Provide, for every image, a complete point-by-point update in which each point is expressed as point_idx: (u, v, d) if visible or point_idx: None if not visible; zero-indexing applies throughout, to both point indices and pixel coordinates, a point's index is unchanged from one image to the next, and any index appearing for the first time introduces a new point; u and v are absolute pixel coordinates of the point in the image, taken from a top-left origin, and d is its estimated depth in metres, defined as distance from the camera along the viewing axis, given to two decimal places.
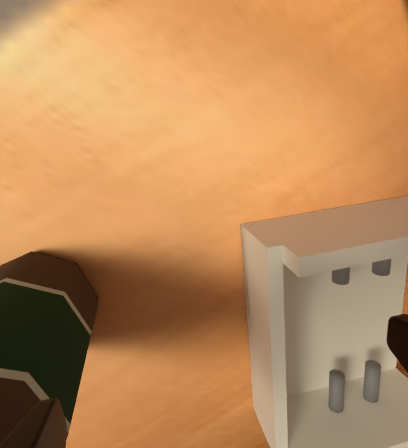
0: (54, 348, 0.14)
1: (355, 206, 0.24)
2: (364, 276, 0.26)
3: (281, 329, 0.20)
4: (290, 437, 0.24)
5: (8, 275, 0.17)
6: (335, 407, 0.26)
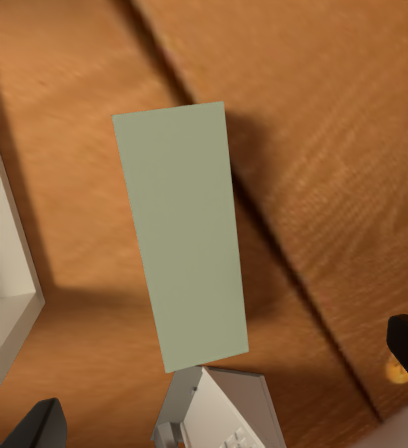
0: None
1: None
2: None
3: None
4: None
5: None
6: None
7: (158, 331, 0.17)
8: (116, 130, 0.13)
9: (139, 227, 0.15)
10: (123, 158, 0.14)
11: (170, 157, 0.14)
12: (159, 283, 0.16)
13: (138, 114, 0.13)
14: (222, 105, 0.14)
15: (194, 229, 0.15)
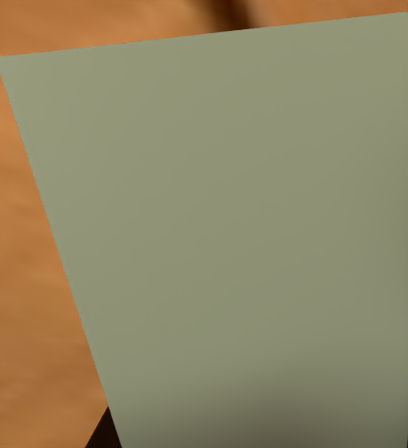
0: None
1: None
2: None
3: None
4: None
5: None
6: None
7: None
8: (25, 126, 0.03)
9: (135, 443, 0.05)
10: (65, 237, 0.03)
11: (242, 222, 0.04)
12: None
13: (119, 55, 0.03)
14: None
15: (301, 420, 0.05)
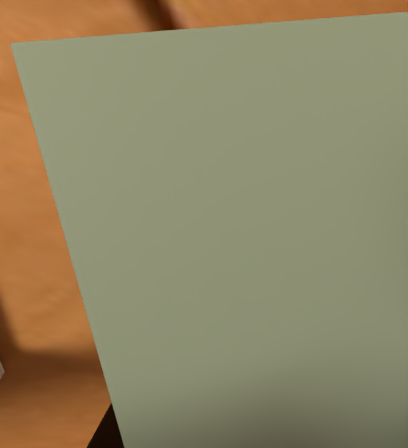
0: None
1: None
2: None
3: None
4: None
5: None
6: None
7: None
8: (38, 115, 0.03)
9: (137, 440, 0.04)
10: (74, 228, 0.03)
11: (253, 219, 0.04)
12: None
13: (135, 45, 0.03)
14: None
15: (304, 422, 0.05)
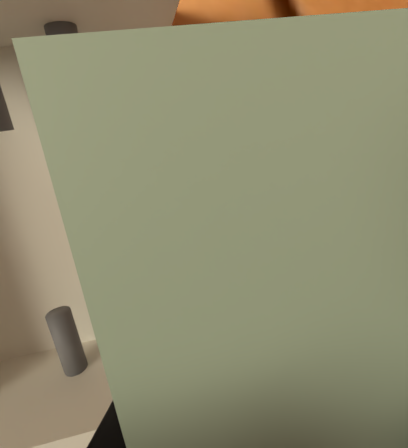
0: None
1: None
2: None
3: None
4: None
5: None
6: (64, 367, 0.16)
7: None
8: (40, 111, 0.03)
9: (140, 441, 0.04)
10: (76, 227, 0.03)
11: (257, 216, 0.04)
12: None
13: (138, 40, 0.03)
14: None
15: (307, 422, 0.05)
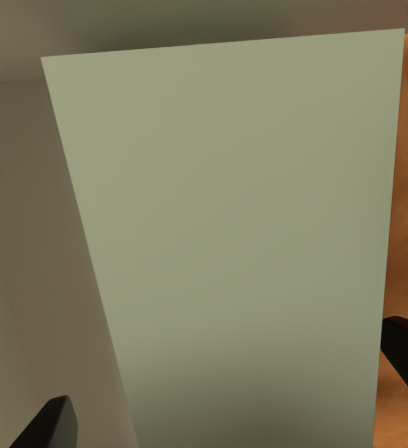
0: None
1: None
2: None
3: None
4: None
5: None
6: None
7: None
8: (60, 113, 0.04)
9: (137, 389, 0.05)
10: (87, 205, 0.04)
11: (234, 200, 0.05)
12: None
13: (137, 58, 0.04)
14: (400, 42, 0.04)
15: (280, 379, 0.06)
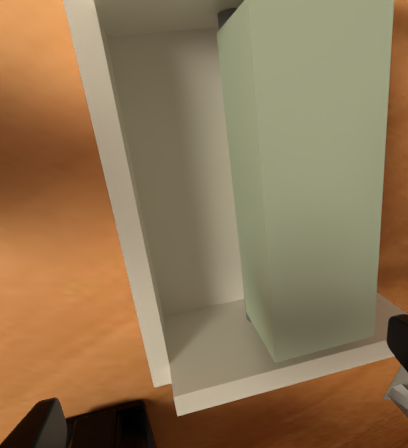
0: None
1: None
2: None
3: (118, 148, 0.12)
4: (178, 352, 0.16)
5: None
6: None
7: (272, 309, 0.13)
8: (252, 20, 0.09)
9: (266, 167, 0.11)
10: (256, 64, 0.10)
11: (316, 65, 0.10)
12: (281, 246, 0.12)
13: None
14: None
15: (333, 172, 0.11)
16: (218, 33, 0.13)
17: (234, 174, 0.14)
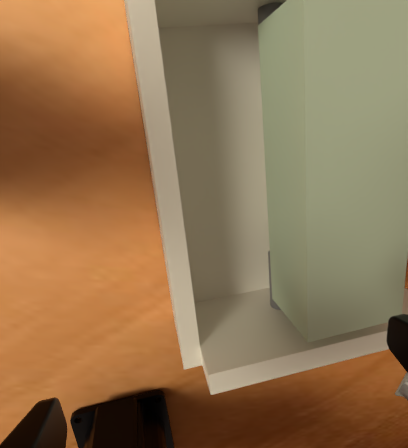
0: None
1: None
2: None
3: (166, 129, 0.13)
4: (207, 335, 0.17)
5: None
6: None
7: (308, 288, 0.13)
8: (306, 8, 0.10)
9: (310, 148, 0.12)
10: (307, 49, 0.10)
11: (361, 53, 0.11)
12: (320, 225, 0.13)
13: None
14: None
15: (371, 155, 0.12)
16: (260, 25, 0.13)
17: (269, 160, 0.15)
